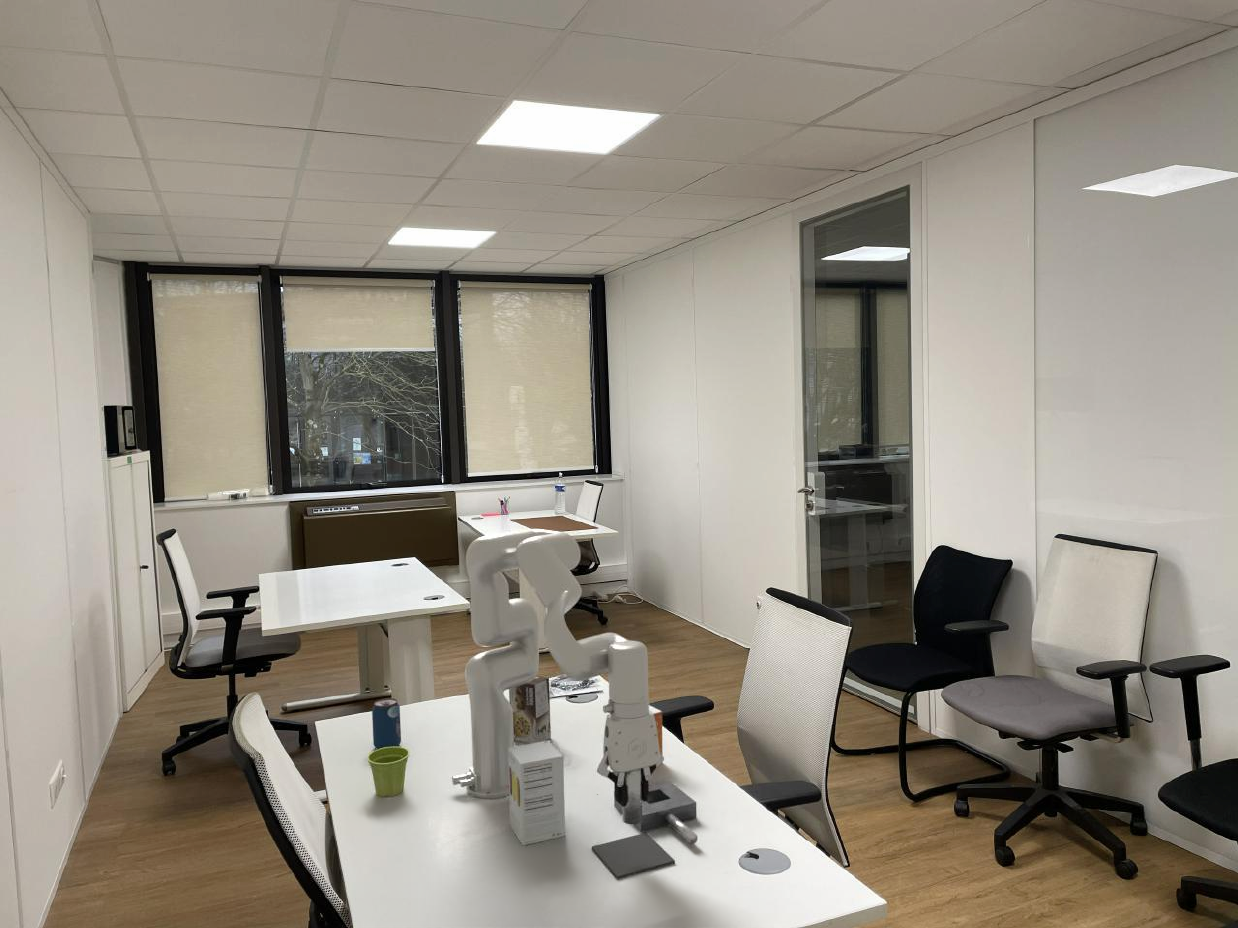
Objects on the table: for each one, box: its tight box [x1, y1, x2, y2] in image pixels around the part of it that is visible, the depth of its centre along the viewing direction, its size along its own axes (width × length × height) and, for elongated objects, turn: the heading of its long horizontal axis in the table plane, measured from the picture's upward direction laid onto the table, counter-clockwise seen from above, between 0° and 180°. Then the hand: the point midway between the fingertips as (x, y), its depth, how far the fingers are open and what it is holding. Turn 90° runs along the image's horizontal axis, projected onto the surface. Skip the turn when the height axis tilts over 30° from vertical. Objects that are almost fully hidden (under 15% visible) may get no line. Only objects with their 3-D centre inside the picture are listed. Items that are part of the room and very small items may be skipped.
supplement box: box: [508, 740, 566, 846], centre depth 174 cm, size 10×9×17 cm
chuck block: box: [613, 778, 698, 845], centre depth 176 cm, size 13×23×4 cm, turn 25°
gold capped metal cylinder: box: [622, 769, 643, 826], centre depth 162 cm, size 4×4×13 cm
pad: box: [591, 832, 676, 880], centre depth 163 cm, size 12×12×1 cm
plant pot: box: [366, 746, 411, 798], centre depth 194 cm, size 9×9×9 cm
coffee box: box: [508, 675, 552, 744], centre depth 224 cm, size 9×6×16 cm
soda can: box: [371, 697, 402, 750], centre depth 220 cm, size 7×7×12 cm
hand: (631, 800), depth 163 cm, fingers closed on gold capped metal cylinder, 3 cm apart
